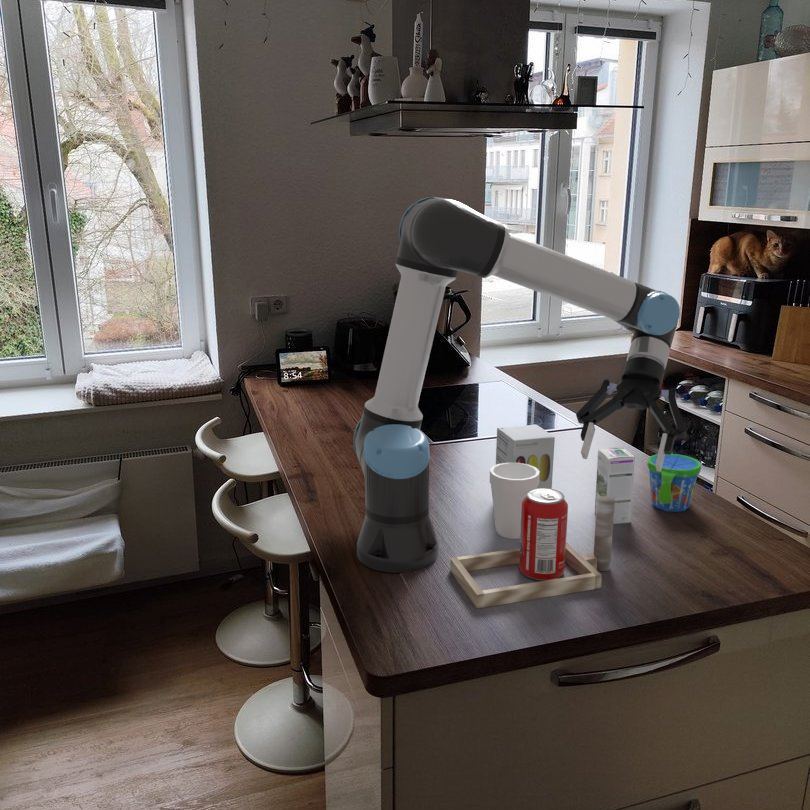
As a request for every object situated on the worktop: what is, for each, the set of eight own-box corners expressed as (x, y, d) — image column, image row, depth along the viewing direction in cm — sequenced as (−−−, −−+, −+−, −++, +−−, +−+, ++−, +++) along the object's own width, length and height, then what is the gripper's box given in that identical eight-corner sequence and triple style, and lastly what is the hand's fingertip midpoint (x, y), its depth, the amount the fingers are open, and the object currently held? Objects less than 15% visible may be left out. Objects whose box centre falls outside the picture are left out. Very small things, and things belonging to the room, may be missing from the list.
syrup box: (631, 523, 155) (637, 456, 151) (603, 526, 154) (608, 457, 150) (619, 512, 160) (624, 446, 156) (592, 514, 160) (597, 448, 155)
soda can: (538, 589, 131) (542, 507, 126) (510, 569, 137) (512, 491, 133) (573, 577, 134) (578, 497, 130) (544, 558, 141) (547, 482, 137)
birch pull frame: (476, 608, 124) (478, 535, 121) (450, 570, 136) (450, 503, 133) (628, 583, 132) (634, 513, 128) (590, 549, 144) (594, 485, 140)
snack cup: (657, 489, 172) (661, 446, 169) (705, 499, 166) (710, 455, 163) (632, 513, 160) (636, 467, 157) (684, 525, 154) (689, 478, 151)
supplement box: (509, 518, 158) (512, 440, 153) (492, 501, 167) (494, 426, 162) (552, 512, 160) (556, 436, 156) (533, 496, 169) (536, 422, 164)
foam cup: (503, 547, 146) (505, 483, 142) (479, 527, 154) (481, 466, 150) (546, 537, 149) (549, 475, 146) (520, 519, 157) (523, 459, 154)
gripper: (713, 383, 147) (692, 482, 139) (585, 369, 159) (558, 459, 150) (712, 362, 141) (690, 464, 133) (579, 348, 153) (550, 441, 145)
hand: (620, 462), depth 142 cm, fingers open, 13 cm apart
